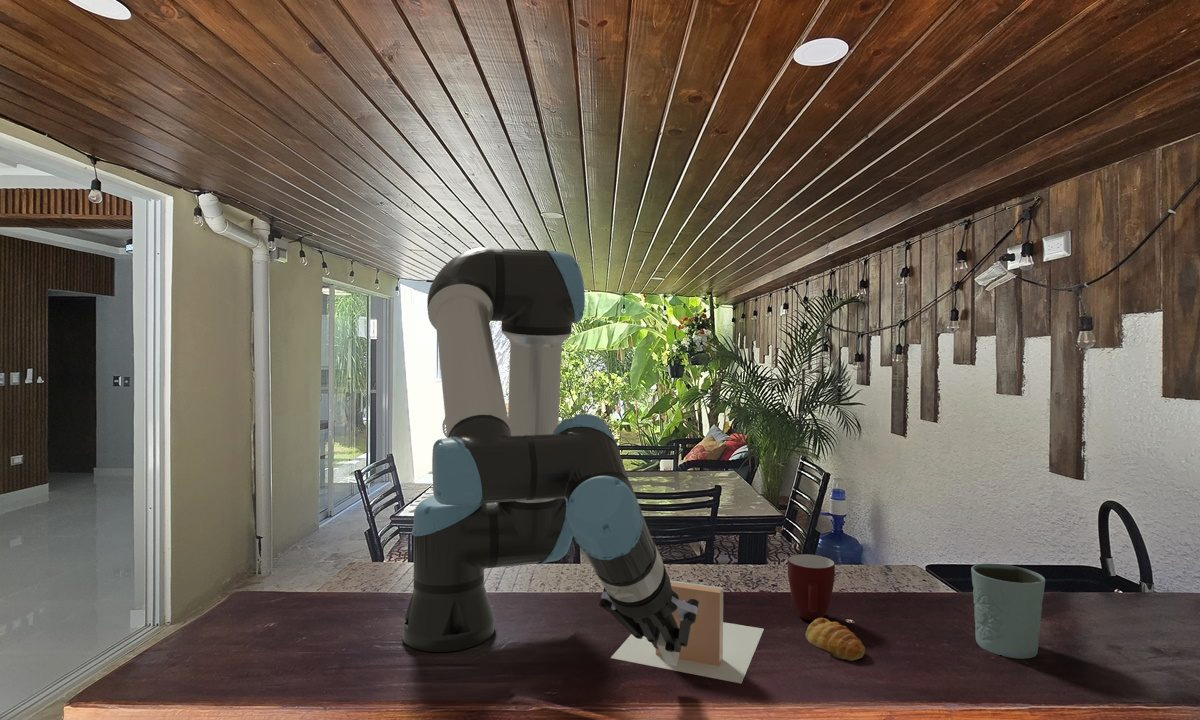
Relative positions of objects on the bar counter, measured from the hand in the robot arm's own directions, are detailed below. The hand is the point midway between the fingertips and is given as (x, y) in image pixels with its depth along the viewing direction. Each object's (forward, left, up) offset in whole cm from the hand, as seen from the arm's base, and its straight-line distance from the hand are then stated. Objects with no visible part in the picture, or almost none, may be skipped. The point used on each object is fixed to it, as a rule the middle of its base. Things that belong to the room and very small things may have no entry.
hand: (673, 655), depth 94 cm
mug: (+16, +33, -5) cm, 37 cm away
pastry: (+20, +22, -5) cm, 31 cm away
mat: (-1, +14, -5) cm, 14 cm away
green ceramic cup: (+46, +34, -5) cm, 57 cm away
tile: (0, +9, -4) cm, 9 cm away
